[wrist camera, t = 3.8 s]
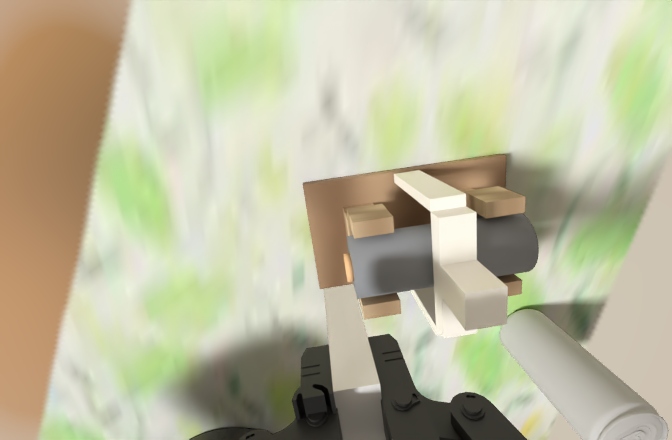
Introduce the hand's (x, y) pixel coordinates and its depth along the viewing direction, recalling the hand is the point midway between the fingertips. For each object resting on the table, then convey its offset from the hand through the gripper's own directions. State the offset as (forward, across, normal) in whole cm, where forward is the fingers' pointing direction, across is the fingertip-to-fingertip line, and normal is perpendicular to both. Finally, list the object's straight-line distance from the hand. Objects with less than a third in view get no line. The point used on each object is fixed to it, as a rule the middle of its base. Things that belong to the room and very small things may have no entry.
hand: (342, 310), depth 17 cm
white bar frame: (+11, +7, 0) cm, 12 cm away
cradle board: (+12, +7, 0) cm, 13 cm away
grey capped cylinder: (+7, +7, 0) cm, 9 cm away
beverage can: (+12, +17, -13) cm, 24 cm away
